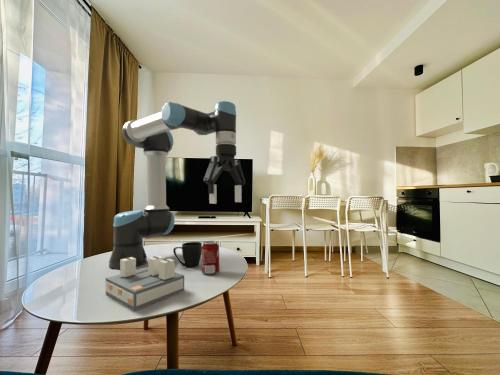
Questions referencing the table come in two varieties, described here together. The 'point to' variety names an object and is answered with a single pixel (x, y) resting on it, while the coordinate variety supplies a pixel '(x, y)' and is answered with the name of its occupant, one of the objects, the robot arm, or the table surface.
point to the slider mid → (154, 265)
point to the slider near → (166, 269)
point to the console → (143, 288)
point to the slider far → (127, 267)
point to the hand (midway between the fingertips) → (226, 202)
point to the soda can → (210, 258)
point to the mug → (190, 254)
